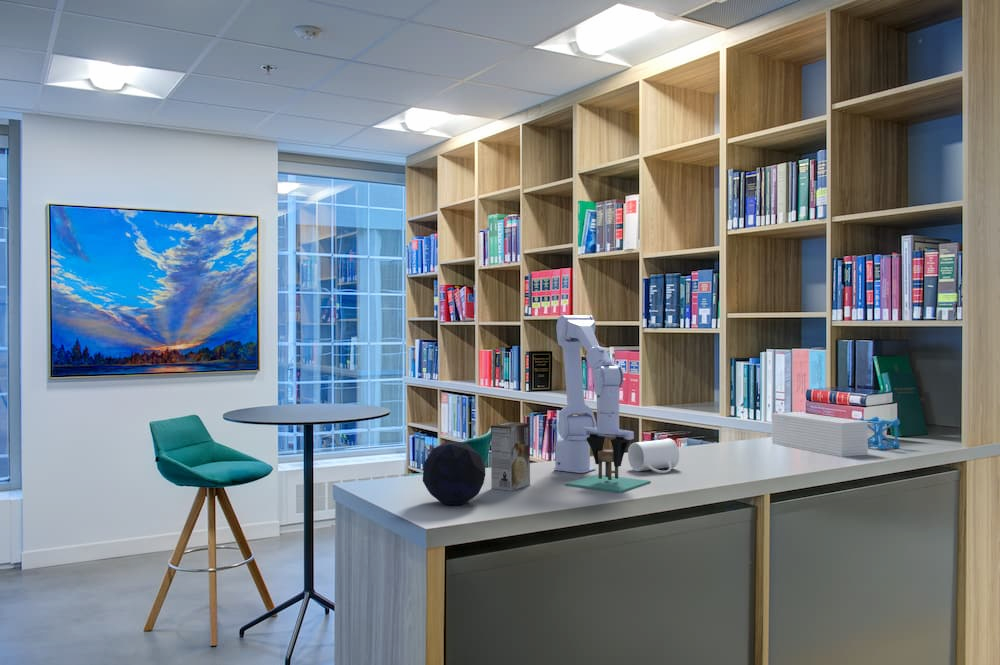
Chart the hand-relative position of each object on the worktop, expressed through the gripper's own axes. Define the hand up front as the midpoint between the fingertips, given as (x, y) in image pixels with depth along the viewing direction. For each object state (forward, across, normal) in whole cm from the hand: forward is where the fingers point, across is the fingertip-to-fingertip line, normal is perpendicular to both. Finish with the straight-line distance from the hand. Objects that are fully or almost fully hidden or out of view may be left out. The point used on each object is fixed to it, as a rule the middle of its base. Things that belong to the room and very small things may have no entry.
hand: (608, 465), depth 204 cm
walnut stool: (+3, 0, 0) cm, 3 cm away
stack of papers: (+5, -16, -97) cm, 99 cm away
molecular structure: (+5, -31, -112) cm, 117 cm away
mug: (+2, -1, -32) cm, 32 cm away
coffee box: (+5, +16, +20) cm, 26 cm away
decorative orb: (+5, +13, +42) cm, 45 cm away
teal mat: (+5, 0, 0) cm, 5 cm away
